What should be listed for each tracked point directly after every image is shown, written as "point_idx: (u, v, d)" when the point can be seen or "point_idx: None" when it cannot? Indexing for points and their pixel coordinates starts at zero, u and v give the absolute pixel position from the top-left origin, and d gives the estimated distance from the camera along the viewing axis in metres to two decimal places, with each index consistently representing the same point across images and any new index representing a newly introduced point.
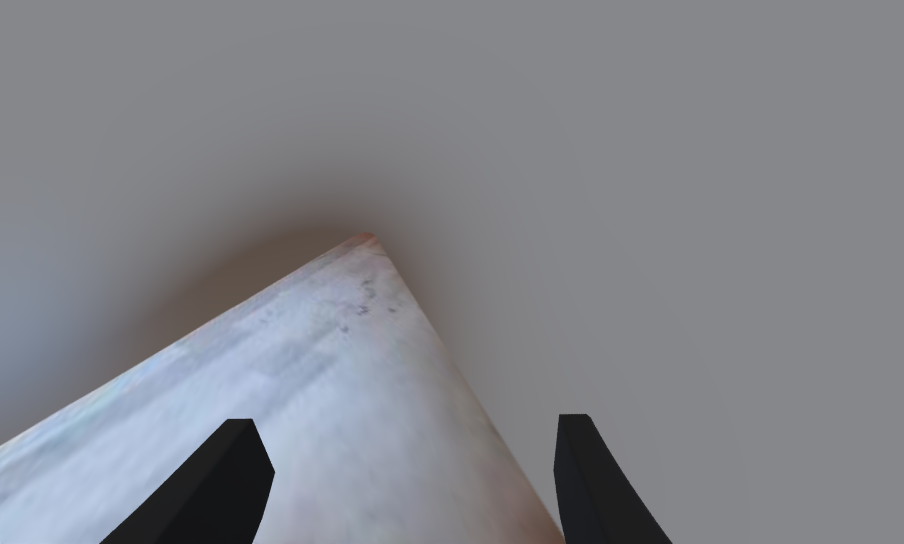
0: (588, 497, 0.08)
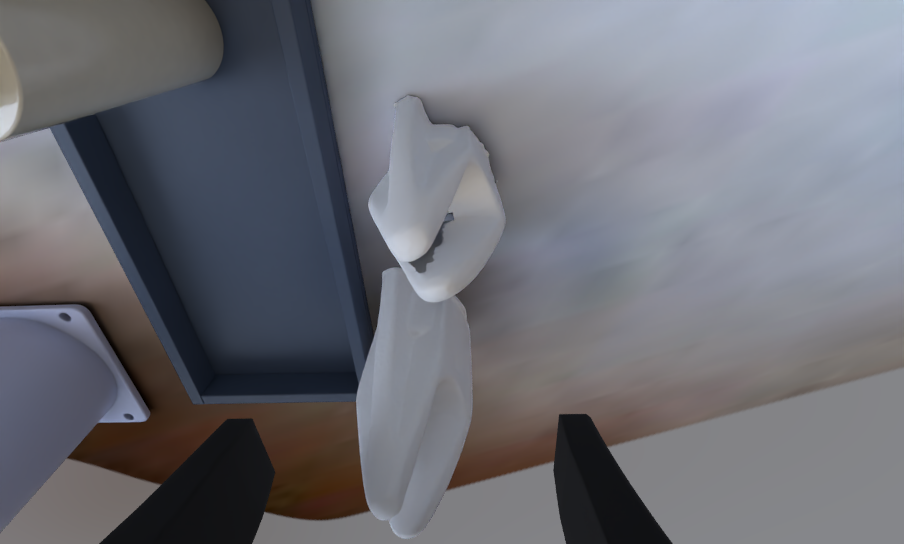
0: (588, 497, 0.08)
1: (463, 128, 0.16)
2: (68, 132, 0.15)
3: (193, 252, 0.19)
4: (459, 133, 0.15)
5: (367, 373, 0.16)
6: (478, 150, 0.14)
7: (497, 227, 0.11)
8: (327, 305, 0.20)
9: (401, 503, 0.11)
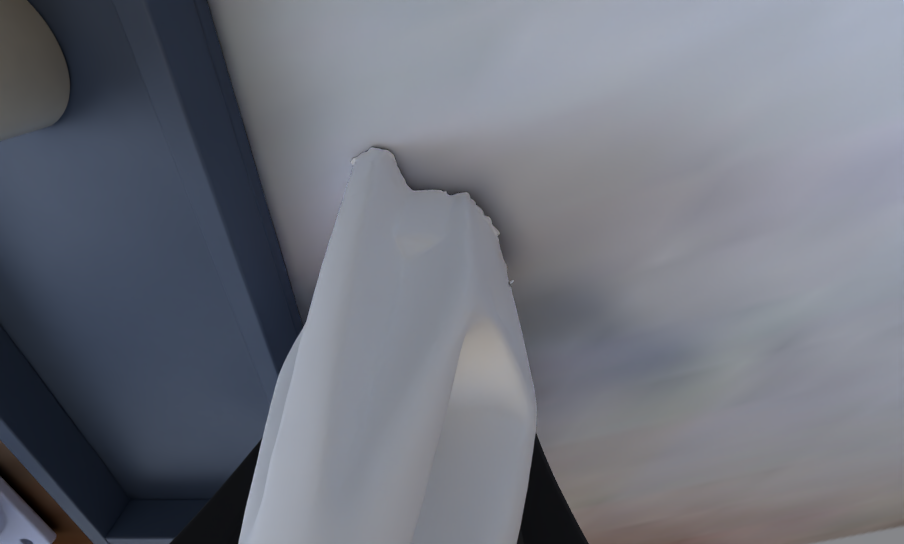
0: None
1: (459, 198, 0.10)
2: None
3: (76, 359, 0.13)
4: (452, 213, 0.09)
5: None
6: (483, 248, 0.09)
7: (525, 455, 0.06)
8: None
9: None
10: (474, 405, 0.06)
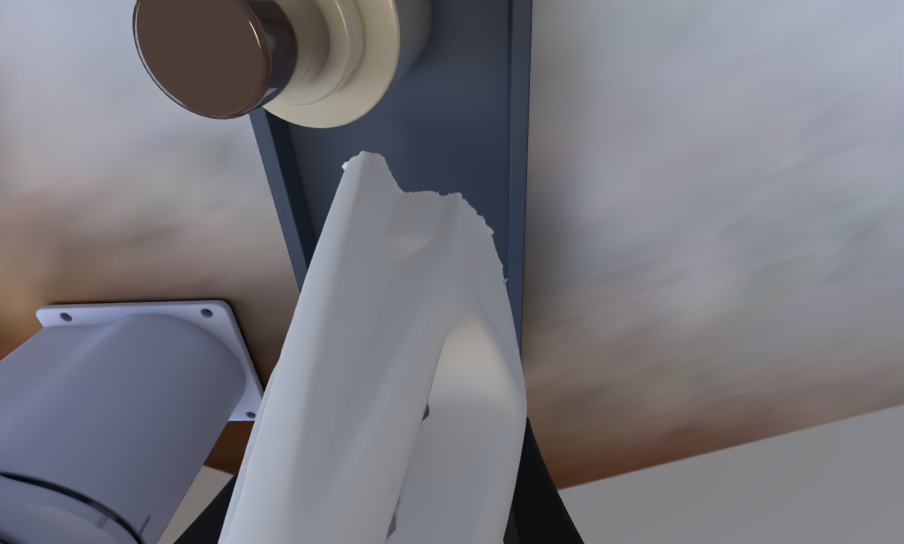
0: None
1: (451, 199, 0.10)
2: (267, 121, 0.15)
3: None
4: (443, 214, 0.09)
5: None
6: (474, 247, 0.09)
7: (512, 453, 0.06)
8: None
9: None
10: (462, 404, 0.06)
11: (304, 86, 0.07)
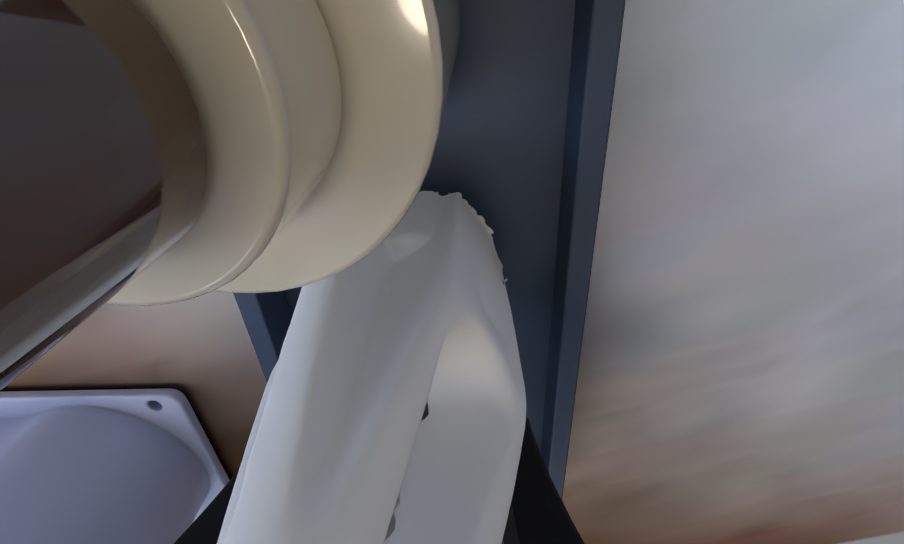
0: None
1: (451, 198, 0.10)
2: None
3: None
4: (443, 213, 0.09)
5: None
6: (473, 247, 0.09)
7: (511, 452, 0.06)
8: None
9: None
10: (462, 404, 0.06)
11: None
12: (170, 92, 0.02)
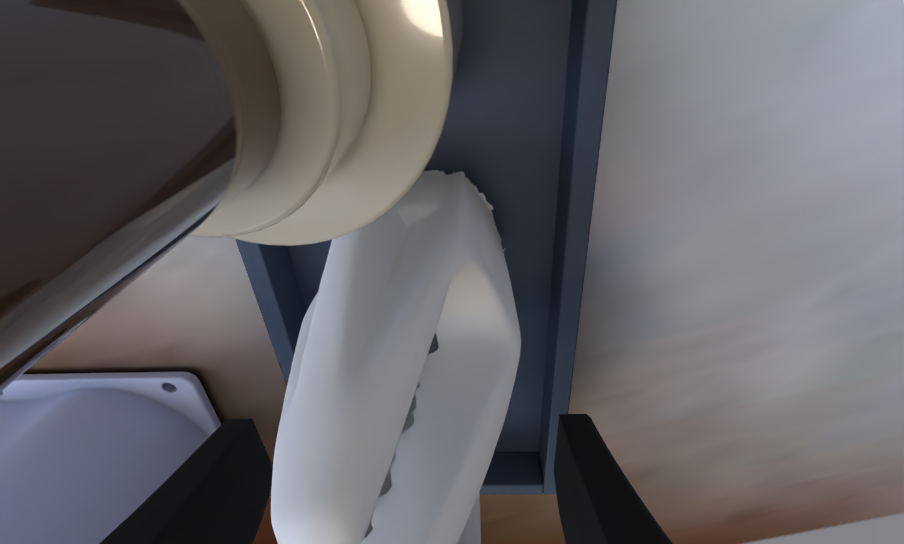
0: (588, 497, 0.08)
1: (455, 176, 0.11)
2: None
3: None
4: (448, 188, 0.11)
5: None
6: (476, 216, 0.10)
7: (508, 372, 0.07)
8: None
9: None
10: (466, 339, 0.08)
11: None
12: (262, 62, 0.02)
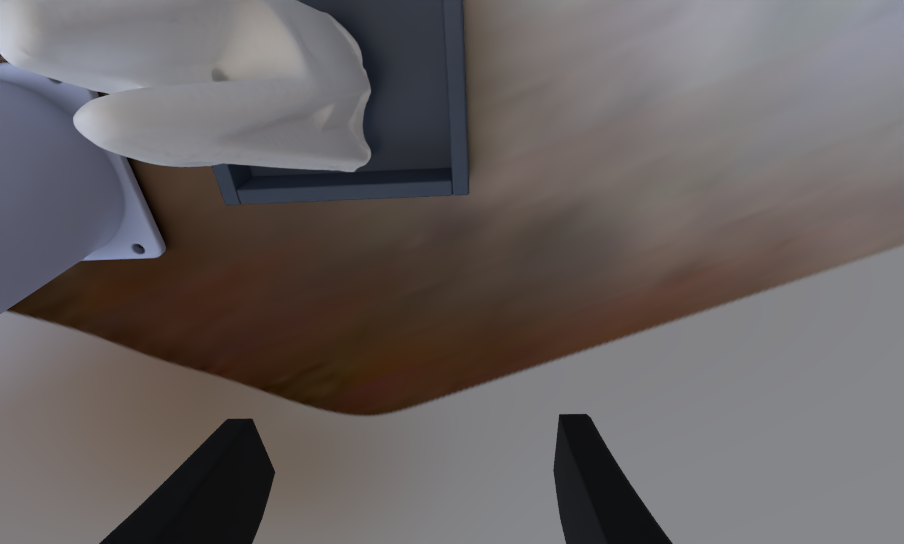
0: (588, 497, 0.08)
1: None
2: None
3: None
4: None
5: None
6: None
7: None
8: (412, 48, 0.15)
9: (48, 19, 0.05)
10: None
11: None
12: None
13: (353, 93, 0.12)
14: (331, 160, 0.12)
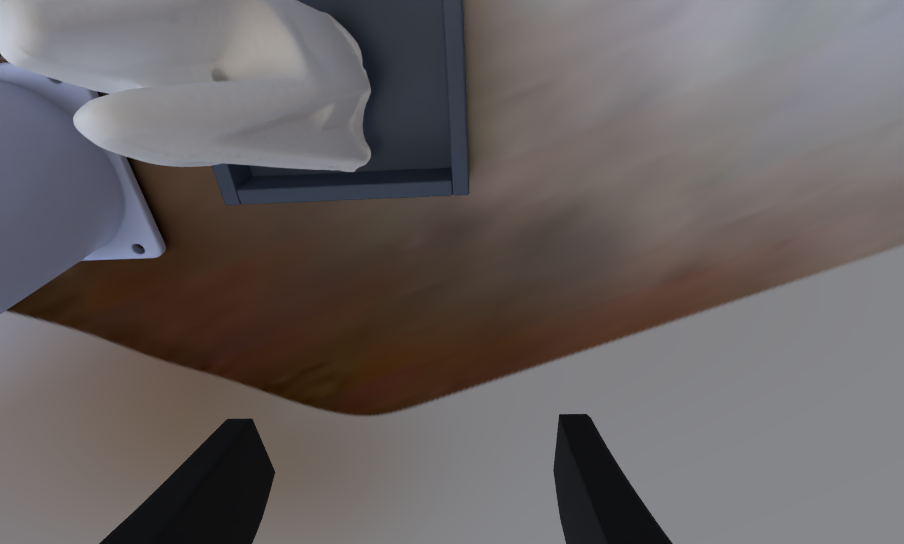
0: (588, 497, 0.08)
1: None
2: None
3: None
4: None
5: None
6: None
7: None
8: (412, 48, 0.15)
9: (48, 18, 0.05)
10: None
11: None
12: None
13: (353, 93, 0.12)
14: (331, 160, 0.12)
